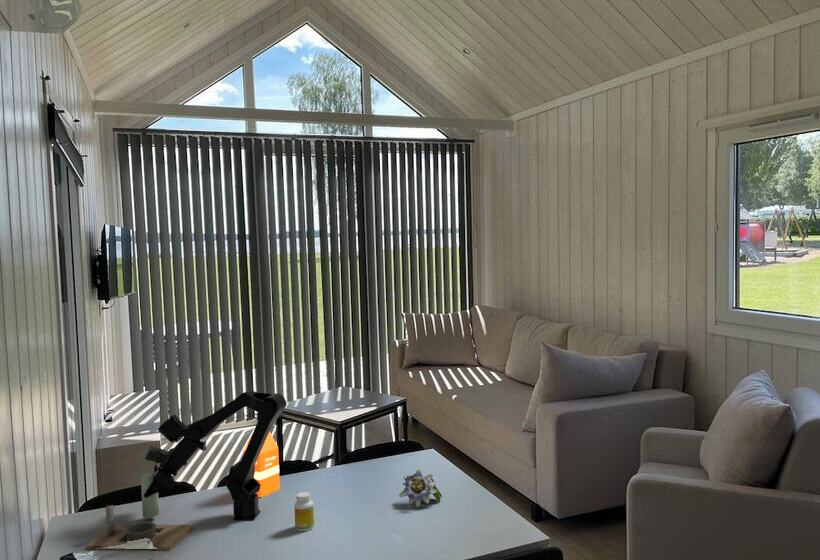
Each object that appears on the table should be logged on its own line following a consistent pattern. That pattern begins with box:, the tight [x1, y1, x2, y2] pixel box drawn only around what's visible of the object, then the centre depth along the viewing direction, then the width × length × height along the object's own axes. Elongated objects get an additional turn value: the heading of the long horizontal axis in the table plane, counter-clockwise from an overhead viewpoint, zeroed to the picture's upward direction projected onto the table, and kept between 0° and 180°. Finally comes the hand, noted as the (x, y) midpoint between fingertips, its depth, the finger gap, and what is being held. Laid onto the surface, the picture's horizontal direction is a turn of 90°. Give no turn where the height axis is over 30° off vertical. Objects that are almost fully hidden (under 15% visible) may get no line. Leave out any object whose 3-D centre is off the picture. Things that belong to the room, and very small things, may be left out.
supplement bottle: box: [293, 491, 315, 532], centre depth 182 cm, size 5×5×10 cm
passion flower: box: [399, 469, 443, 508], centre depth 199 cm, size 11×11×12 cm
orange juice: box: [242, 430, 281, 498], centre depth 212 cm, size 8×9×20 cm
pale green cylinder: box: [140, 472, 160, 519], centre depth 191 cm, size 5×5×12 cm
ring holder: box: [85, 504, 194, 551], centre depth 178 cm, size 24×14×9 cm, turn 85°
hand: (145, 494), depth 191 cm, fingers closed on pale green cylinder, 5 cm apart
